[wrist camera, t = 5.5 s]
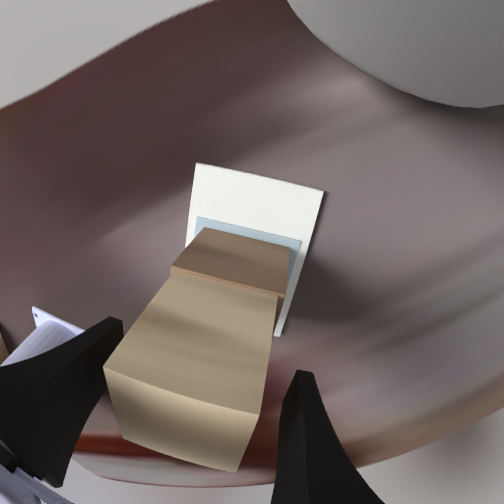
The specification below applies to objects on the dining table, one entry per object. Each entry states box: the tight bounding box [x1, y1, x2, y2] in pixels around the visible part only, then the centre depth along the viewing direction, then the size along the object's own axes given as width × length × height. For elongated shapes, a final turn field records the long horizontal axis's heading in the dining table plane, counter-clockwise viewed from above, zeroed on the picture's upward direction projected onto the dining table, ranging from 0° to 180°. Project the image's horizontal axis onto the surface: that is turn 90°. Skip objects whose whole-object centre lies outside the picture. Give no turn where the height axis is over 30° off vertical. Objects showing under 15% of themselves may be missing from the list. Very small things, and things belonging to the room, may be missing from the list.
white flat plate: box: [185, 163, 324, 337], centre depth 18 cm, size 10×7×1 cm
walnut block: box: [170, 227, 290, 338], centre depth 16 cm, size 5×5×5 cm
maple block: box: [103, 271, 278, 473], centre depth 11 cm, size 4×4×6 cm
